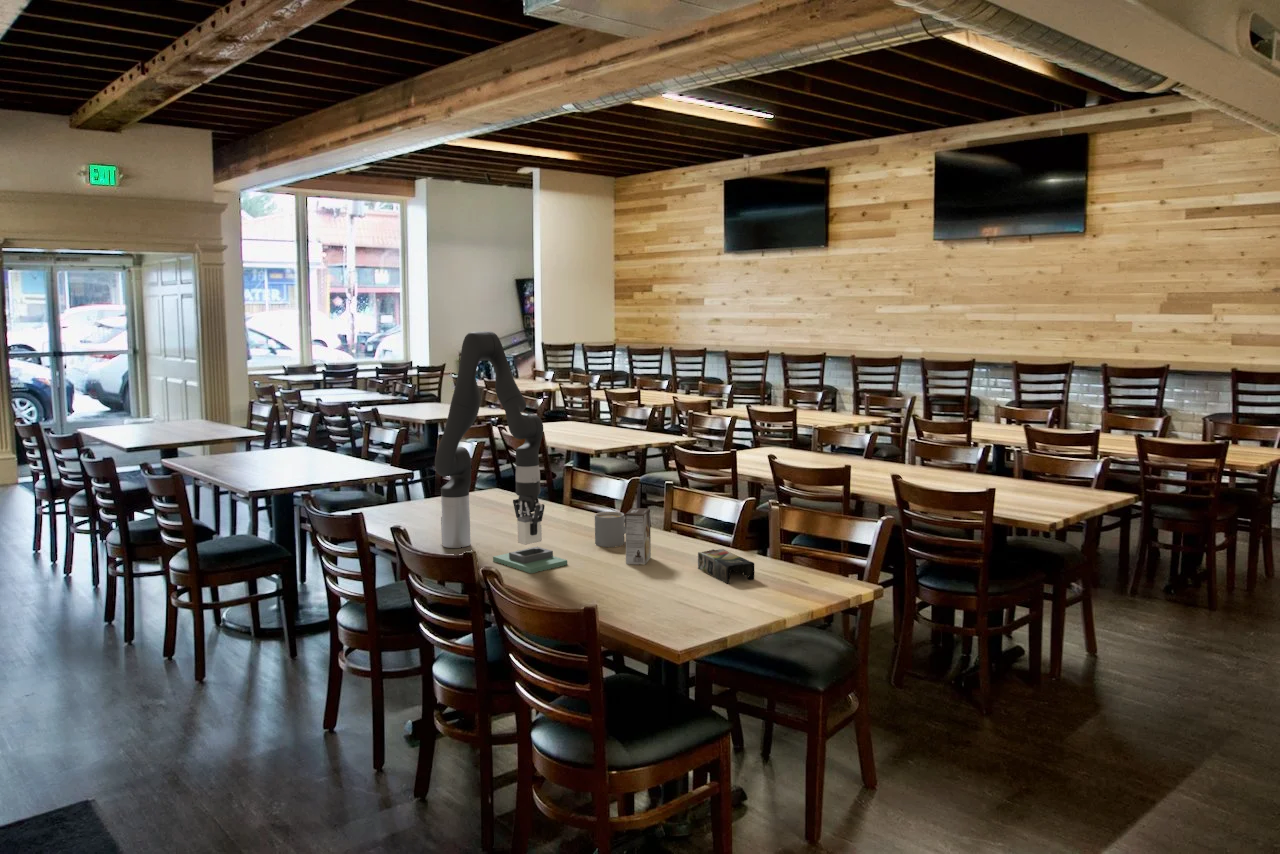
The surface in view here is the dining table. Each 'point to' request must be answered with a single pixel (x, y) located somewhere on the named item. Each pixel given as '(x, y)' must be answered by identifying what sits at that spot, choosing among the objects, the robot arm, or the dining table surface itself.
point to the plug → (528, 531)
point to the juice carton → (724, 564)
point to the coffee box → (638, 536)
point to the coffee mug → (609, 529)
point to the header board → (531, 559)
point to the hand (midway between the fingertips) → (529, 533)
